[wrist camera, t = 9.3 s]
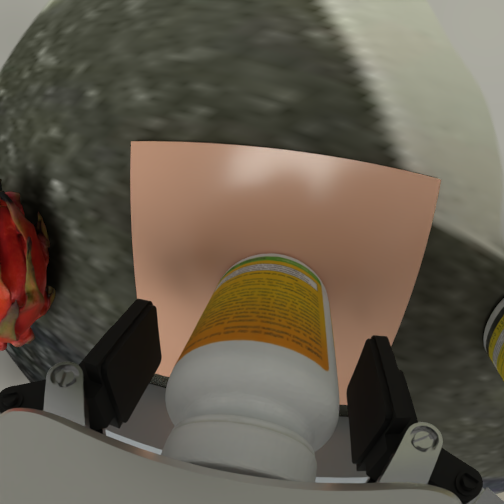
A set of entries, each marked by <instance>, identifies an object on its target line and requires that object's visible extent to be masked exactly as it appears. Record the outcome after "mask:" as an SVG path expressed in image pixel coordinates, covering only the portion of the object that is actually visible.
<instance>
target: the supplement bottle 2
mask: <svg viewBox="0 0 504 504" xmlns="http://www.w3.org/2000/svg"><path fill="white" fill-rule="evenodd" d="M483 342H484V347H485V350H486V352H487V354H488V356H489V358H490V359H491V361H492V362H493V364H494V366H495V367H496V369H497V371H498V372H499V374H500V375H501V377H502V379H503V381H504V298H503V299H502V300H501V301H500V303H499V304H498V305H497V306H496V308H495V309H494V311H493V312H492V314H491V316H490V318H489V320H488V322H487V325H486V327H485V331H484V338H483Z"/></svg>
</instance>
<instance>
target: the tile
mask: <svg viewBox="0 0 504 504" xmlns="http://www.w3.org/2000/svg"><path fill="white" fill-rule="evenodd" d="M440 183H441V180H440V179H438V178H435V177H431V176H427V175H423V174H419V173H415V172H411V171H406V170H402V169H397V168H393V167H388V166H384V165H379V164H374V163H369V162H363V161H358V160H353V159H347V158H341V157H335V156H329V155H322V154H316V153H309V152H302V151H294V150H286V149H277V148H268V147H258V146H248V145H236V144H222V143H205V142H182V141H131V171H130V186H131V225H132V244H133V259H134V271H135V282H136V292H137V299H143V300H148V301H151V302H152V303H153V306H156V308H157V318H158V328H159V338H160V346H161V355H162V359H161V363H160V365H159V367H158V369H157V371H156V372H155V373H156V374H159V375H163V376H167V377H170V375H171V373H172V370H173V368H174V366H175V364H176V362H177V360H178V359H179V357H180V355H181V353H182V351H183V349H184V348H185V346H186V344H187V342H188V340H189V338H190V336H191V334H192V332H193V331H194V329H195V327H196V325H197V323H198V321H199V319H200V317H201V315H202V314H203V311H204V310H205V308H206V306H207V304H208V302H209V300H210V298H211V296H212V294H213V292H214V291H215V289H216V287H217V285H218V283H219V282H220V280H221V278H222V277H223V275H224V274H225V273H226V272H227V271H228V270H229V269H230V268H231V267H232V266H233V265H234V264H236V263H237V262H239V261H241V260H243V259H245V258H247V257H250V256H254V255H258V254H267V253H274V254H282V255H286V256H289V257H292V258H295V259H297V260H299V261H301V262H302V263H304V264H306V265H307V266H308V267H309V268H311V269H312V270H313V271H314V272H315V273H316V274H317V275H318V277H319V278H320V279H321V281H322V283H323V285H324V287H325V289H326V292H327V295H328V300H329V305H330V312H331V320H332V329H333V337H334V346H335V356H336V365H337V376H338V385H339V399H340V401H339V405H347V395H346V393H347V387H348V384H349V382H350V380H351V377H352V375H353V373H354V370H355V368H356V365H357V363H358V360H359V358H360V355H361V352H362V350H363V347H364V344H365V342H366V340H367V339H371V337H372V336H373V335H377V336H387V337H388V339H389V342H390V345H391V346H392V343H393V341H394V338H395V336H396V334H397V331H398V329H399V326H400V324H401V321H402V318H403V316H404V313H405V310H406V308H407V305H408V302H409V299H410V296H411V293H412V290H413V288H414V284H415V281H416V278H417V275H418V272H419V269H420V266H421V262H422V259H423V255H424V252H425V248H426V245H427V241H428V237H429V233H430V229H431V225H432V221H433V217H434V212H435V208H436V203H437V199H438V194H439V189H440Z"/></svg>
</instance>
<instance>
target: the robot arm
mask: <svg viewBox="0 0 504 504" xmlns="http://www.w3.org/2000/svg"><path fill="white" fill-rule="evenodd" d="M161 359H162V355H161V346H160V338H159V328H158V318H157V308H156V306H153V303H152V302H151V301H148V300H143V299H137V300H136V301H135V302H134V303H133V304H132V305H131V306H130V307H129V308H128V310H127V311H126V312H125V313H124V314H123V315H122V316H121V317H120V319H119V320H118V321H117V322H116V323H115V324H114V325H113V326H112V327H111V328H110V329H109V330H108V331H107V333H106V334H105V335H104V336H103V337H102V338H101V339H100V341H99V342H98V343H97V344H96V345H95V346H94V348H93V349H92V350H91V351H90V352H89V353H88V355H87V356H86V357H85V358H84V359H83V361H82V362H81V363H80V364H79V365H77V364H76V363H72V362H61V363H58V364H56V365H54V366H53V367H52V368H51V369H50V370H49V371H48V373H47V377H46V380H42V381H37V382H32V383H27V384H22V385H17V386H11V387H8V388H5V389H4V390H2V391H1V392H0V504H504V501H502V500H501V499H500V498H499V497H498V496H497V495H496V494H494V493H493V492H492V491H491V490H490V489H489V488H488V487H487V488H485V489H484V488H482V485H483V481H482V477H481V475H480V474H479V472H478V471H476V470H475V469H474V468H472V467H471V466H469V465H467V464H466V463H464V462H463V461H461V460H460V459H458V458H456V457H455V456H453V455H452V454H450V453H449V452H447V451H446V450H444V449H443V448H442V443H443V439H442V435H441V433H440V431H439V430H438V429H437V428H436V427H435V426H433V425H431V424H429V423H425V422H418V421H417V417H416V414H415V410H414V407H413V403H412V400H411V396H410V393H409V390H408V387H407V383H406V380H405V377H404V374H403V372H402V371H401V370H398V367H397V364H396V360H395V357H394V354H393V351H392V348H391V345H390V342H389V339H388V337H387V336H377V335H373V336H372V337H371V339H367V340H366V342H365V344H364V347H363V350H362V352H361V355H360V358H359V360H358V363H357V365H356V368H355V370H354V373H353V375H352V377H351V380H350V382H349V384H348V387H347V393H346V395H347V405H348V416H349V428H350V441H351V456H352V463H353V464H356V470H357V471H366V475H367V476H369V478H368V479H367V481H366V482H365V483H317V482H300V481H288V480H279V479H270V478H262V477H255V476H249V475H243V474H237V473H231V472H226V471H221V470H216V469H212V468H207V467H203V466H199V465H195V464H191V463H187V462H183V461H179V460H176V459H172V458H169V457H166V456H162V455H159V454H156V453H153V452H150V451H147V450H144V449H141V448H138V447H135V446H132V445H129V444H127V443H124V442H121V441H119V440H116V439H114V438H111V437H109V436H106V430H105V428H107V427H108V426H109V425H111V426H114V427H116V428H119V429H120V427H121V425H122V423H126V422H127V421H128V420H129V418H130V416H131V415H132V413H133V411H134V409H135V407H136V406H137V404H138V402H139V400H140V399H141V397H142V395H143V393H144V392H145V390H146V388H147V386H148V385H149V383H150V381H151V379H152V377H153V376H154V374H155V372H156V371H157V369H158V367H159V365H160V363H161Z"/></svg>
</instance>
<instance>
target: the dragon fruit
mask: <svg viewBox="0 0 504 504" xmlns="http://www.w3.org/2000/svg"><path fill="white" fill-rule="evenodd" d="M48 247H50V242H49V239H48V235H47V230H46V227H45V224H44V222H43V218H42V217H41V215H40V213H39V211H38V220H37V223H36V226H35V227H34V225H33V224H32V223H31V222H29V221H28V220H27V219H26V218H25V215H24V210H23V207H22V205H21V203H20V193H16V192H4V191H2V186H1V179H0V350H1V351H3V350H5V349H6V348H7V342H9V343H12V344H13V345H14V346H15V347H20V346H22V345H23V344H25V343H26V344H29V343H31V341H33V340H34V339H35V336H34V333H33V331H32V329H31V328H30V326H31V325H32V324H33V323H34V322H35V320H37V319H38V318H40V317H41V316H43V315H45V314H46V312H47V311H48V310H49V309H50V306H51V304H52V302H53V300H54V298H55V289H54V288H52V287H51V286H46V269H47V265H48V262H49V253H48ZM50 302H51V303H50Z"/></svg>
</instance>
